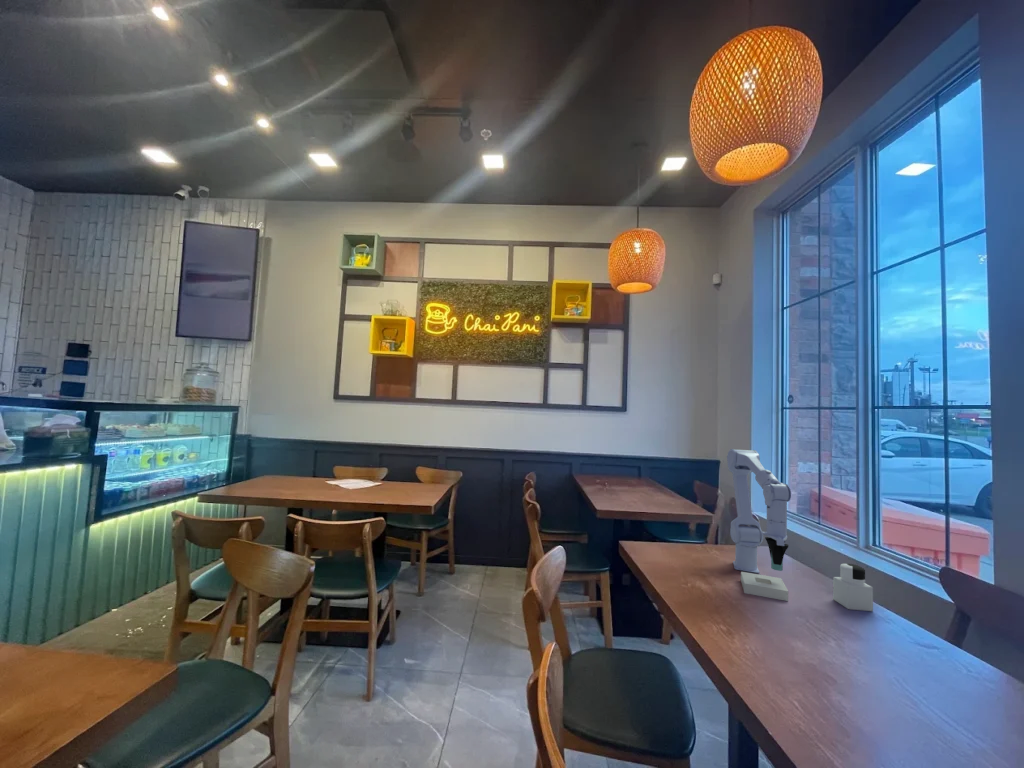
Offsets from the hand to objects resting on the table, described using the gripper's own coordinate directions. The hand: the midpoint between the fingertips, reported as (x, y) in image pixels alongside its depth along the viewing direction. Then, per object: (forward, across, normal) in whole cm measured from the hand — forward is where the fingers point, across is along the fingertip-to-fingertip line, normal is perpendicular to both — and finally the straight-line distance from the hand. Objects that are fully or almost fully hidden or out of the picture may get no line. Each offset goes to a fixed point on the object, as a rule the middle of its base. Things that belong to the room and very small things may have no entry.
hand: (776, 562), depth 142 cm
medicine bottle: (+9, +1, +20) cm, 22 cm away
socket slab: (+9, +2, -4) cm, 10 cm away
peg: (+2, 0, 0) cm, 2 cm away
